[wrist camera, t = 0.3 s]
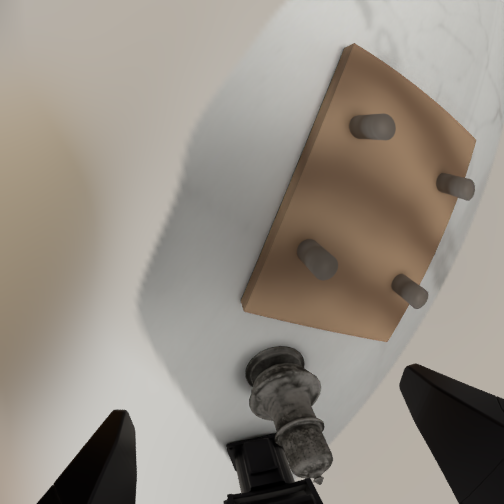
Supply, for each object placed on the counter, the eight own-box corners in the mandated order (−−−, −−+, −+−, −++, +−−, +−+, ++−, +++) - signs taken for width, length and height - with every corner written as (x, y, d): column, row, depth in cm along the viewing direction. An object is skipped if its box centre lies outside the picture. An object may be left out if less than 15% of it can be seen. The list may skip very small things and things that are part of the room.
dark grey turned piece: (236, 352, 24) (269, 480, 13) (305, 335, 25) (369, 447, 14) (247, 398, 26) (278, 510, 15) (308, 383, 27) (358, 485, 16)
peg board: (379, 333, 27) (404, 361, 22) (240, 300, 23) (252, 336, 18) (464, 138, 21) (501, 143, 17) (344, 48, 17) (377, 31, 13)
